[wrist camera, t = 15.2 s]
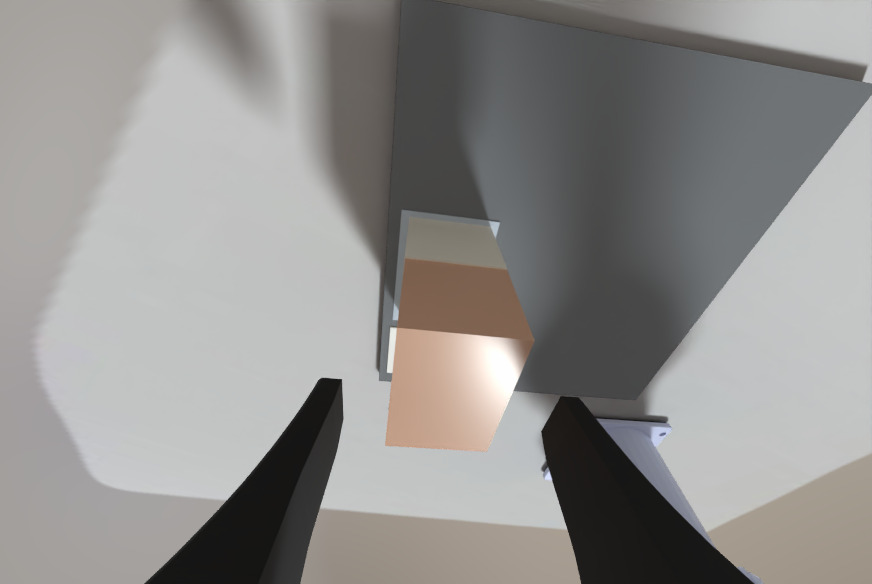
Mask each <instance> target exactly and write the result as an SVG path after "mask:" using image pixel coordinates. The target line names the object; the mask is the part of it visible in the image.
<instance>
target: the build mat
mask: <svg viewBox="0 0 872 584" xmlns="http://www.w3.org/2000/svg"><path fill="white" fill-rule="evenodd" d="M871 95H872V84H871V83H865V82H860V81H855V80H850V79H844V78H839V77H834V76H828V75H823V74H818V73H813V72H807V71H802V70H797V69H792V68H786V67H781V66H776V65H770V64H765V63H760V62H755V61H749V60H744V59H739V58H734V57H728V56H723V55H718V54H713V53H707V52H702V51H697V50H691V49H686V48H681V47H676V46H670V45H665V44H660V43H655V42H649V41H644V40H639V39H633V38H628V37H623V36H618V35H612V34H607V33H602V32H597V31H591V30H586V29H581V28H576V27H570V26H565V25H560V24H554V23H549V22H544V21H539V20H533V19H528V18H523V17H518V16H512V15H507V14H502V13H496V12H491V11H486V10H481V9H475V8H470V7H465V6H460V5H454V4H449V3H444V2H439V1H433V0H401V16H400V33H399V50H398V67H397V84H396V101H395V117H394V134H393V151H392V168H391V185H390V202H389V219H388V236H387V252H386V269H385V286H384V303H383V320H382V337H381V354H380V371H379V381H390V382H392V372H393V362H394V352H395V342H396V332H397V323H398V314H399V306H400V298H401V289H402V279H403V268H404V257H405V249H406V241H407V233H408V225H409V217H416V218H424V219H432V220H440V221H449V222H457V223H465V224H473V225H482V226H490V227H491V229H492V231H493V234H494V236H495V239H496V241H497V244H498V246H499V249H500V252H501V254H502V257H503V259H504V262H505V264H506V267H507V269H506V270H507V271H508V274H509V276H510V279H511V281H512V284H513V286H514V289H515V292H516V294H517V297H518V299H519V302H520V304H521V307H522V309H523V312H524V315H525V317H526V320H527V322H528V325H529V327H530V330H531V333H532V335H533V338H534V340H535V341H534V344H533V346H532V348H531V350H530V353H529V355H528V357H527V360H526V362H525V364H524V367H523V369H522V371H521V374H520V376H519V378H518V381H517V383H516V385H515V388H514V390H513V391H521V392H534V393H548V394H561V395H574V396H587V397H600V398H613V399H627V400H636V399H637V398H638V396H639V395H640V394H641V392H642V391H643V390H644V389H645V387H646V386H647V385H648V383H649V382H650V381H651V379H652V378H653V377H654V376H655V374H656V373H657V372H658V370H659V369H660V368H661V367H662V365H663V364H664V363H665V361H666V360H667V359H668V357H669V356H670V355H671V354H672V352H673V351H674V350H675V348H676V347H677V346H678V345H679V343H680V342H681V341H682V339H683V338H684V337H685V335H686V334H687V333H688V332H689V330H690V329H691V328H692V326H693V325H694V324H695V323H696V321H697V320H698V319H699V317H700V316H701V315H702V313H703V312H704V311H705V310H706V308H707V307H708V306H709V304H710V303H711V302H712V301H713V299H714V298H715V297H716V295H717V294H718V293H719V291H720V290H721V289H722V288H723V286H724V285H725V284H726V282H727V281H728V280H729V279H730V277H731V276H732V275H733V273H734V272H735V271H736V269H737V268H738V267H739V266H740V264H741V263H742V262H743V260H744V259H745V258H746V257H747V255H748V254H749V253H750V251H751V250H752V249H753V247H754V246H755V245H756V244H757V242H758V241H759V240H760V238H761V237H762V236H763V235H764V233H765V232H766V231H767V229H768V228H769V227H770V225H771V224H772V223H773V222H774V220H775V219H776V218H777V216H778V215H779V214H780V213H781V211H782V210H783V209H784V207H785V206H786V205H787V203H788V202H789V201H790V200H791V198H792V197H793V196H794V194H795V193H796V192H797V191H798V189H799V188H800V187H801V185H802V184H803V183H804V181H805V180H806V179H807V178H808V176H809V175H810V174H811V172H812V171H813V170H814V169H815V167H816V166H817V165H818V163H819V162H820V161H821V159H822V158H823V157H824V156H825V154H826V153H827V152H828V150H829V149H830V148H831V147H832V145H833V144H834V143H835V141H836V140H837V139H838V137H839V136H840V135H841V134H842V132H843V131H844V130H845V128H846V127H847V126H848V125H849V123H850V122H851V121H852V119H853V118H854V117H855V115H856V114H857V113H858V112H859V110H860V109H861V108H862V106H863V105H864V104H865V103H866V101H867V100H868V99H869V97H870V96H871Z"/></svg>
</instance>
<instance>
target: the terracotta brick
mask: <svg viewBox="0 0 872 584" xmlns="http://www.w3.org/2000/svg"><path fill="white" fill-rule="evenodd" d="M534 341H535V340H534V338H533V335H532V333H531V330H530V327H529V325H528V322H527V320H526V317H525V315H524V312H523V309H522V307H521V304H520V302H519V299H518V297H517V294H516V292H515V289H514V286H513V284H512V281H511V279H510V276H509V274H508V271H507V270H503V269H494V268H485V267H477V266H468V265H460V264H451V263H442V262H434V261H425V260H416V259H408V258H405V265H404V273H403V281H402V289H401V298H400V306H399V314H398V323H397V332H396V342H395V352H394V362H393V372H392V382H391V393H390V403H389V413H388V423H387V433H386V443H385V446H399V447H416V448H433V449H450V450H467V451H484V452H487V451H488V448H489V446H490V444H491V441H492V439H493V437H494V434H495V432H496V430H497V427H498V425H499V423H500V420H501V418H502V416H503V413H504V411H505V409H506V406H507V404H508V402H509V399H510V397H511V395H512V392H513V390H514V388H515V385H516V383H517V381H518V378H519V376H520V374H521V371H522V369H523V367H524V364H525V362H526V360H527V357H528V355H529V353H530V350H531V348H532V346H533V344H534Z"/></svg>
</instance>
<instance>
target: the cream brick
mask: <svg viewBox="0 0 872 584" xmlns="http://www.w3.org/2000/svg"><path fill="white" fill-rule="evenodd" d="M405 258H408V259H416V260H425V261H434V262H442V263H451V264H460V265H468V266H477V267H485V268H494V269H503V270H506V269H507V267H506V264H505V262H504V259H503V257H502V254H501V252H500V249H499V246H498V244H497V241H496V239H495V236H494V234H493V231H492V229H491V227H490V226H482V225H473V224H465V223H457V222H449V221H440V220H432V219H424V218H416V217H409V225H408V233H407V241H406V249H405V257H404V265H405ZM403 273H404V268H403ZM402 281H403V279H402Z"/></svg>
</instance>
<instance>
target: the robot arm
mask: <svg viewBox="0 0 872 584" xmlns="http://www.w3.org/2000/svg"><path fill="white" fill-rule="evenodd" d="M342 423H343V396H342V379H331V378H321V379H319V380H318V382H317V384H316V385H315V387H314V389H313V390H312V392H311V393H310V395H309V397H308V398H307V400H306V401H305V403H304V404H303V406H302V407H301V409H300V410H299V411H298V413H297V414H296V416H295V417H294V419H293V420H292V421H291V423H290V424H289V425H288V427H287V428H286V429H285V431H284V432H283V433H282V435H281V436H280V437H279V439H278V440H277V441H276V443H275V444H274V445H273V447H272V448H271V449H270V450H269V452H268V453H267V454H266V455H265V456H264V458H263V459H262V460H261V461H260V463H259V464H258V465H257V466H256V467H255V469H254V470H253V471H252V472H251V474H250V475H249V476H248V477H247V478H246V479H245V481H244V482H243V483H242V484H241V485H240V486H239V488H238V489H237V490H236V491H235V492H234V493H233V494H232V495H231V497H230V498H229V499H228V500H227V501H226V502H225V503H224V504H223V505H222V506H221V507H220V509H219V510H218V511H217V512H216V513H215V514H214V515H213V516H212V517H211V518H210V519H209V520H208V521H207V522H206V523H205V525H203V527H201V529H200V530H199V531H198V532H197V533H196V534H195V535H194V536H193V537H192V538H191V539H190V540H189V541H188V542H187V543H186V544H185V545H184V546H183V547H182V548H181V549H180V550H179V551H178V552H177V553H176V554H175V555H174V556H173V557H172V558H171V559H170V560H169V561H168V562H167V563H166V564H165V565H164V566H163V567H162V568H161V569H159V570H158V571H157V572H156V573H155V574H154V575H153V576H152V577H151V578H150V579H149V580H148V581H147V582H146V583H145V584H300V582H301V577H302V573H303V568H304V564H305V559H306V554H307V550H308V546H309V543H310V539H311V535H312V531H313V528H314V525H315V522H316V518H317V515H318V512H319V508H320V505H321V502H322V499H323V495H324V492H325V489H326V485H327V482H328V479H329V476H330V472H331V469H332V466H333V462H334V459H335V456H336V452H337V448H338V443H339V438H340V433H341V428H342ZM671 430H672V428H671V426H670V425H669V424H667V423H656V422H641V421H627V420H612V419H598V418H595V417H594V416H593V414H592V413H591V412H590V411H589V409H588V408H587V407H586V406H585V405H584V403H583V402H582V401H581V400H580V399H579V398H578V397H565V396H561V397H560V399H559V401H558V403H557V404H556V406H555V408H554V410H553V412H552V413H551V415H550V417H549V419H548V421H547V422H546V424H545V426H544V428H543V429H542V431H541V432H542V438H543V444H544V450H545V455H546V460H547V464H548V467H547V469H546V470H545V472H544V473H543V477H544V479H545V480H552V481H553V484H554V488H555V491H556V494H557V497H558V500H559V504H560V507H561V510H562V513H563V516H564V520H565V523H566V526H567V529H568V532H569V536H570V539H571V542H572V546H573V550H574V553H575V557H576V562H577V566H578V571H579V575H580V580H581V584H764V583H763V582H762V580H761V579H760V578H759V577H757V576H756V575H753V574H752V573H750V572H747V571H746V570H745V569H744V568H742V567H738V568H736V567H735V566H734V565H733V564H732V563H731V562H730V561H729V560H728V559H726V558H725V557H724V556H723V555H722V554H721V553H720V552H719V551H718V550H717V549H716V548H715V546H714V544H713V543H712V541H711V539H710V538H709V536H708V534H707V533H706V531H705V529H704V527H703V526H702V524H701V522H700V521H699V519H698V517H697V516H696V514H695V512H694V511H693V509H692V507H691V506H690V504H689V502H688V501H687V499H686V497H685V496H684V494H683V492H682V491H681V489H680V487H679V486H678V484H677V482H676V481H675V479H674V477H673V476H672V474H671V472H670V471H669V469H668V467H667V466H666V464H665V462H664V461H663V459H662V457H661V456H660V454H659V452H658V451H657V449H656V446H657V445H658V444H659V443H660V442H661V441H662V440H663V439H664V438H665V437H666V436H667V435H668V434H669V433H670V432H671Z"/></svg>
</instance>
